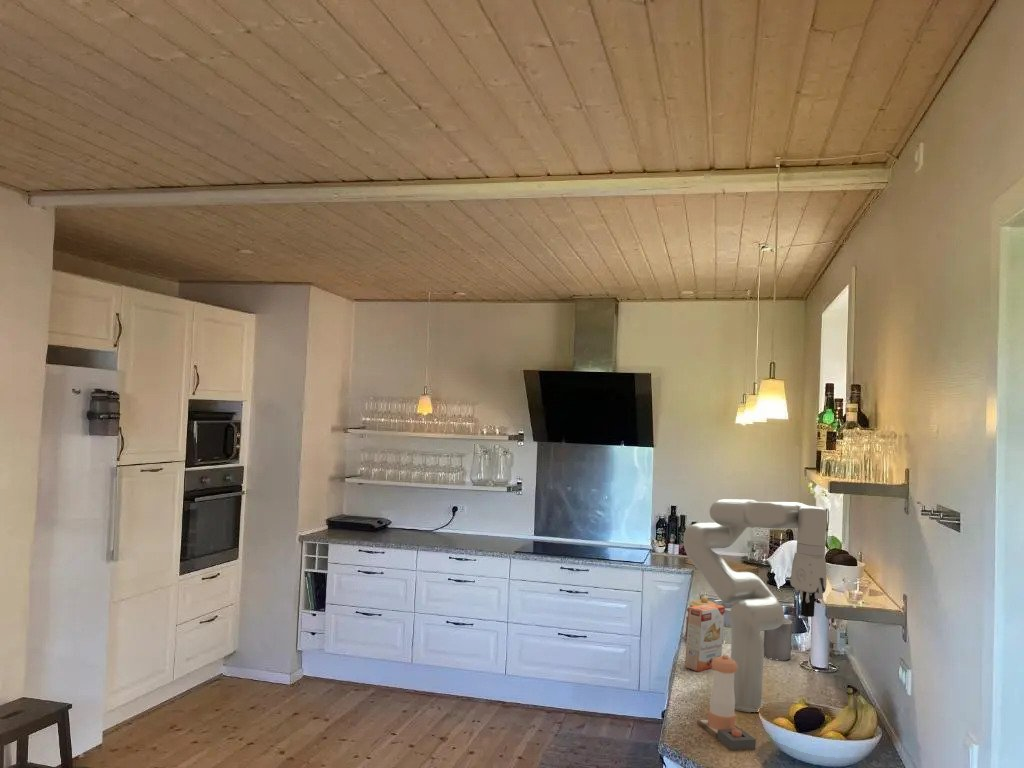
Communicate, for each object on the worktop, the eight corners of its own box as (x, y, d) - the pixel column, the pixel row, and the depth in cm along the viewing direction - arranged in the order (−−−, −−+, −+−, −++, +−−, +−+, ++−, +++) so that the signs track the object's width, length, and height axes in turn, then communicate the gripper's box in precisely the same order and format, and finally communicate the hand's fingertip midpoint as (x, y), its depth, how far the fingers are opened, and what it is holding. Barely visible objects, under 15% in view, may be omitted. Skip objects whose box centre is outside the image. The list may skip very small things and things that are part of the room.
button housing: (717, 739, 206) (717, 729, 206) (740, 737, 208) (740, 728, 208) (731, 750, 199) (732, 740, 199) (755, 749, 201) (755, 739, 201)
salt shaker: (704, 726, 211) (708, 655, 212) (711, 718, 218) (715, 649, 218) (730, 733, 208) (734, 661, 208) (737, 724, 214) (741, 655, 215)
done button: (729, 736, 204) (729, 728, 204) (737, 735, 205) (738, 728, 205) (734, 740, 202) (735, 732, 202) (743, 740, 203) (743, 732, 203)
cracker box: (698, 672, 261) (702, 610, 262) (684, 667, 265) (687, 606, 266) (722, 666, 270) (725, 606, 271) (707, 661, 275) (711, 602, 275)
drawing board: (697, 723, 216) (697, 719, 216) (725, 721, 218) (725, 717, 218) (716, 738, 206) (716, 734, 206) (745, 736, 209) (745, 732, 209)
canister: (706, 649, 290) (709, 601, 290) (678, 640, 299) (680, 594, 300) (725, 643, 298) (728, 598, 299) (697, 635, 308) (699, 590, 309)
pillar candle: (767, 651, 293) (769, 611, 293) (793, 657, 287) (795, 616, 287) (759, 656, 285) (761, 616, 285) (786, 663, 279) (788, 621, 280)
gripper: (782, 545, 223) (779, 609, 222) (817, 555, 209) (813, 623, 208) (804, 545, 225) (801, 609, 224) (840, 555, 211) (836, 623, 210)
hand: (807, 615), depth 216 cm, fingers closed
